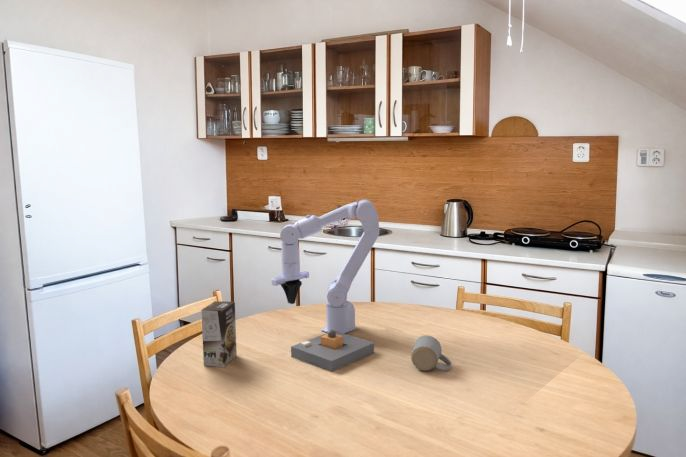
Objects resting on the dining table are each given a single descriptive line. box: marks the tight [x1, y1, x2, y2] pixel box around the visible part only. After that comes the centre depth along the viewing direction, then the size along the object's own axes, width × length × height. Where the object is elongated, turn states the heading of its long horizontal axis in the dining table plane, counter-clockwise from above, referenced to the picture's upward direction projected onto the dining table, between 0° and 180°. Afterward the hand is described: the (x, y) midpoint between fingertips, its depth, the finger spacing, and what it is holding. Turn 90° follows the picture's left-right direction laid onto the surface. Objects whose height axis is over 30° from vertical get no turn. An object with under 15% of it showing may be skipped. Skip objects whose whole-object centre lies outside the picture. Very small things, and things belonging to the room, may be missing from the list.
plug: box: [320, 330, 343, 350], centre depth 154 cm, size 4×5×7 cm
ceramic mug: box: [410, 334, 452, 372], centre depth 145 cm, size 11×8×8 cm
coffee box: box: [201, 300, 238, 368], centre depth 150 cm, size 9×6×16 cm
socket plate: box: [290, 331, 375, 372], centre depth 154 cm, size 18×16×4 cm
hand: (291, 303), depth 174 cm, fingers closed
